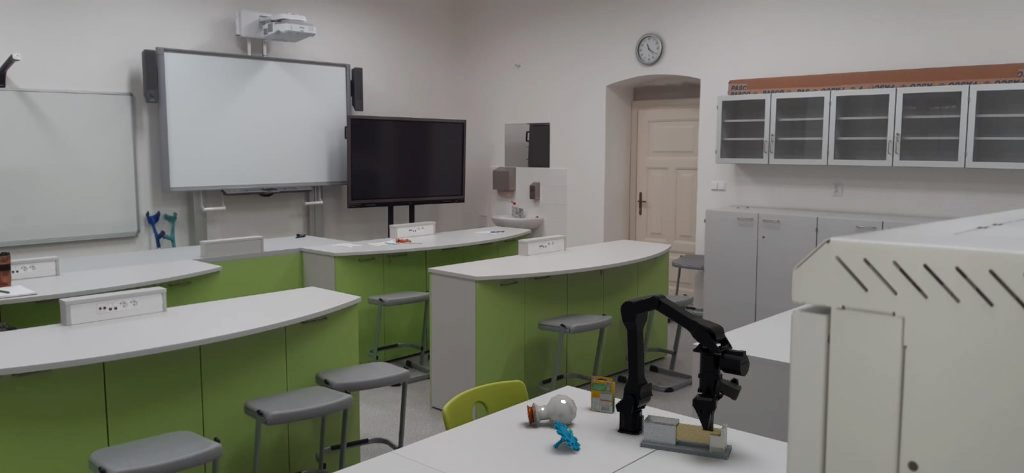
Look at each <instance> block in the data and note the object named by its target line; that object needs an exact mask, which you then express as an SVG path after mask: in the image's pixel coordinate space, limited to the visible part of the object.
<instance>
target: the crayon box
mask: <svg viewBox="0 0 1024 473" xmlns="http://www.w3.org/2000/svg"><path fill="white" fill-rule="evenodd" d="M600 379H602V380H600ZM613 380H614V378H612V377H607V376H606V377H605V376H598V375H597V376H596V375H591V383H590V384H591V387H590V388H591V389H590V411H591V410H593V411H592V412H598V411H599V413H605V414H606V413H607V414H611V415H612V414H613V413H614V412H615V411H616V407H615V405H616V382H615V381H613Z"/></svg>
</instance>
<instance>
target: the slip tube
mask: <svg viewBox="0 0 1024 473" xmlns="http://www.w3.org/2000/svg"><path fill="white" fill-rule="evenodd" d="M714 421H715V413H714V411H713V412H712V413H711V417H710V421H709V426H708V430H704V429H703V427H702V425H696V424H689V423H682V422H679V423H678V424H677V426H676V439H678V440H685V441H692V442H699V443H706V444H710V435H717V436H721V428H719V427H715V426H714V424H715V422H714Z"/></svg>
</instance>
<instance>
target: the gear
mask: <svg viewBox="0 0 1024 473" xmlns="http://www.w3.org/2000/svg"><path fill="white" fill-rule="evenodd" d="M553 424H554V425H553V428H554V429H556V431H555V432H556V434H557V435H558V436H561V437H560V439H559V440H558V441H557V442H556V443H555V444H554V445H553V448H554V449H557V448H558V447H559V446H561V445H562V444H563V443H565V442H566V446H567V447H568V448H569V449H570V448H571V449H572V450H573V451H574V452H576V451H578V452H579V451H580V450H581V447H580V446H581V443H580V442H578V441H579V439H578V438H577V437H576V436H574V433H573V431H574V430H573V429H572V428H569V427H568V425H564V426H562V425H563V424H562V422H560V421H559V422H558V421H556V422H555V423H553ZM568 428H569V429H568Z"/></svg>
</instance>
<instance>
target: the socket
mask: <svg viewBox="0 0 1024 473" xmlns="http://www.w3.org/2000/svg"><path fill="white" fill-rule="evenodd" d="M720 429H721V436H717V435H710V452H717V453H724V452H725V449H726V447H727V445H728V424H727V423H723V425H722V427H721V428H720Z"/></svg>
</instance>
